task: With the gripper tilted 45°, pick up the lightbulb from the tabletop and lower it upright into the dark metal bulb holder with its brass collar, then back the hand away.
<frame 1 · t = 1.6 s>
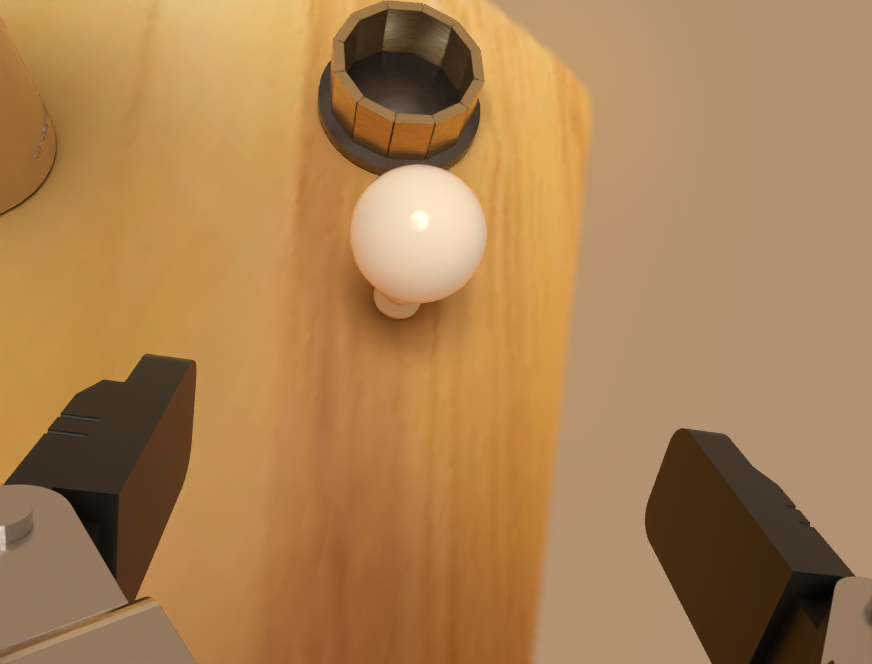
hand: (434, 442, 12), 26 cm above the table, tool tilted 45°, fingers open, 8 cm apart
bulb holder: (398, 110, 46), on the table
lightbulb: (395, 302, 41), on the table
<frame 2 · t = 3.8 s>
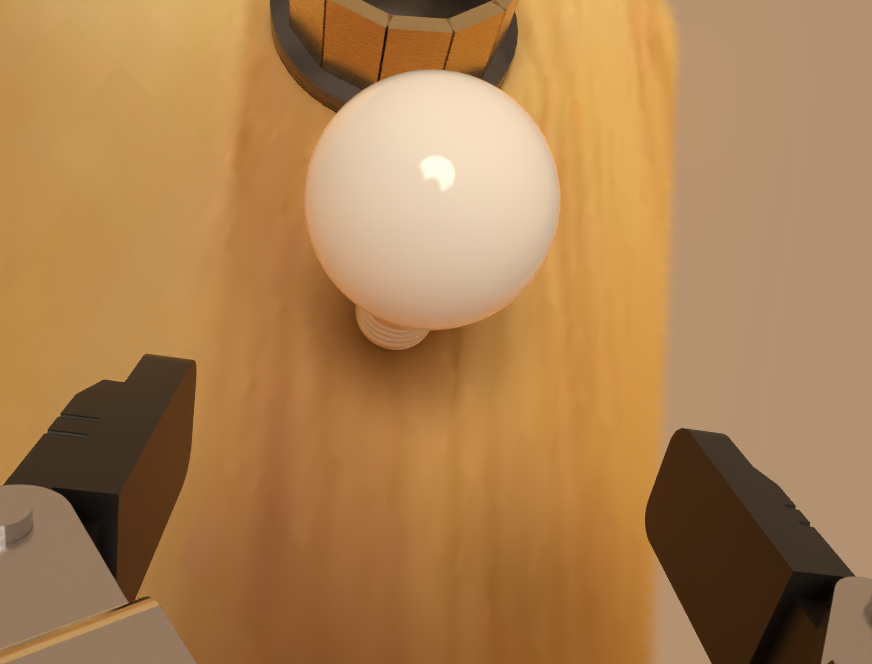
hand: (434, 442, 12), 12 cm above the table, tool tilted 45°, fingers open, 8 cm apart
bulb holder: (394, 29, 30), on the table
lightbulb: (391, 322, 26), on the table
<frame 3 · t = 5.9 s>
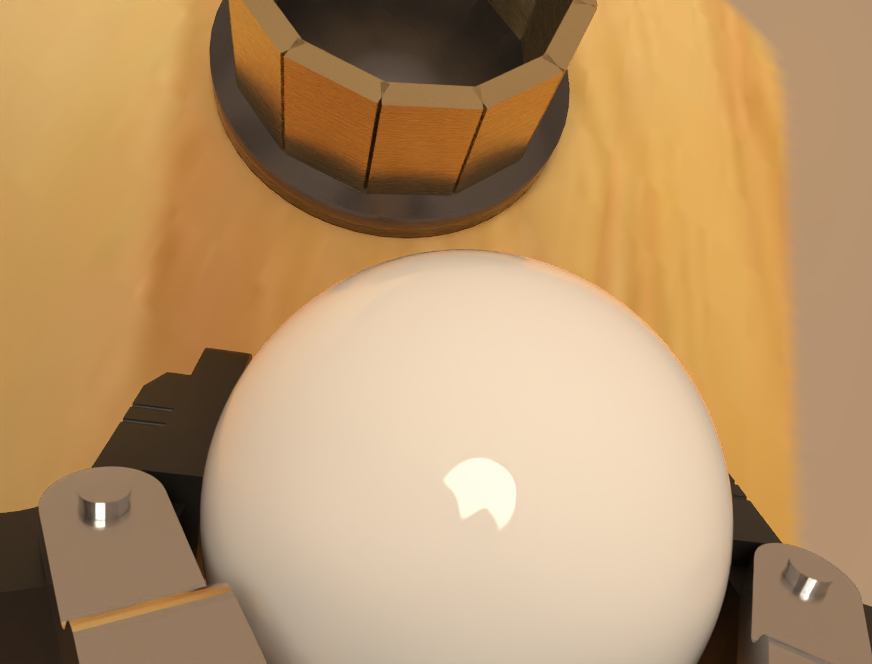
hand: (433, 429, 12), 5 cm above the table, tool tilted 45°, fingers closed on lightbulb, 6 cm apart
bulb holder: (392, 84, 21), on the table
lightbulb: (386, 553, 17), on the table, touching gripper
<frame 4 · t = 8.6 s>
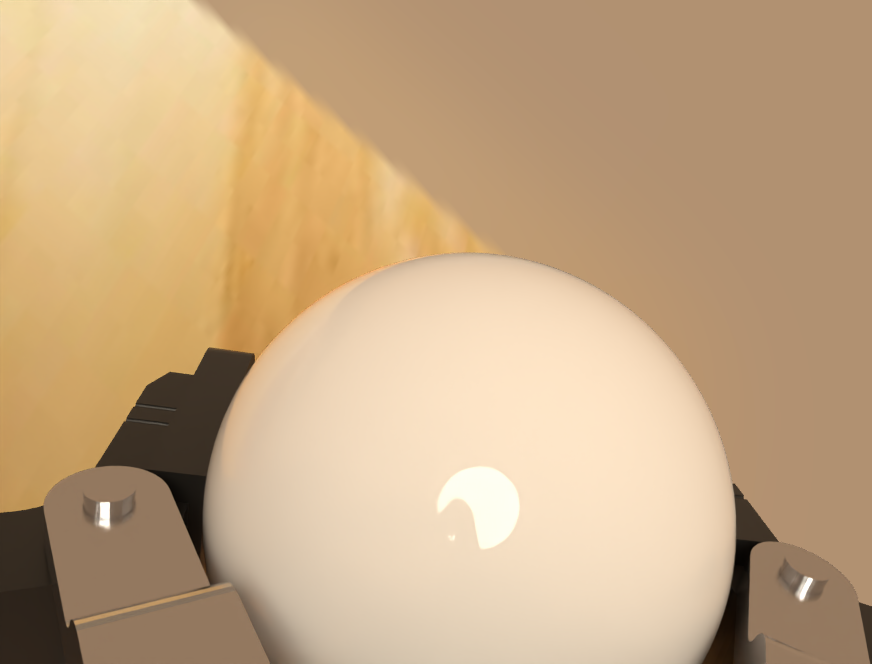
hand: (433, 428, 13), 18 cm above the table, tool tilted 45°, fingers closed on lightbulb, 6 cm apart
lightbulb: (386, 556, 17), point 13 cm above the table, touching gripper
when the fingers open (7 cm above the table, at t = 11.3 s): lightbulb drops 1 cm, resting on bulb holder.
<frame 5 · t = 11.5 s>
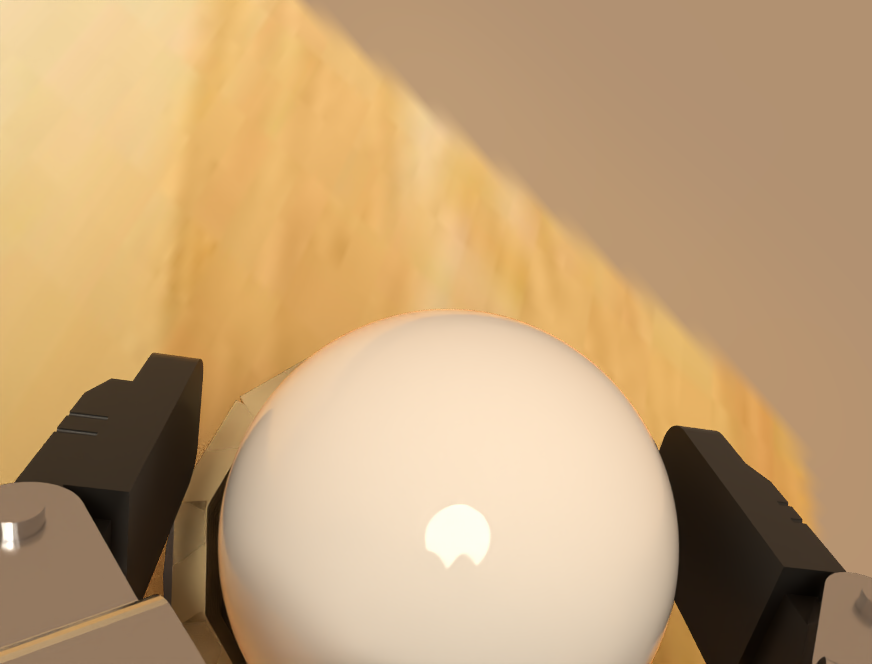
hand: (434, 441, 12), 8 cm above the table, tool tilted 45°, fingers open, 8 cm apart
bulb holder: (375, 561, 19), on the table
lightbulb: (387, 569, 18), point 1 cm above the table, touching bulb holder
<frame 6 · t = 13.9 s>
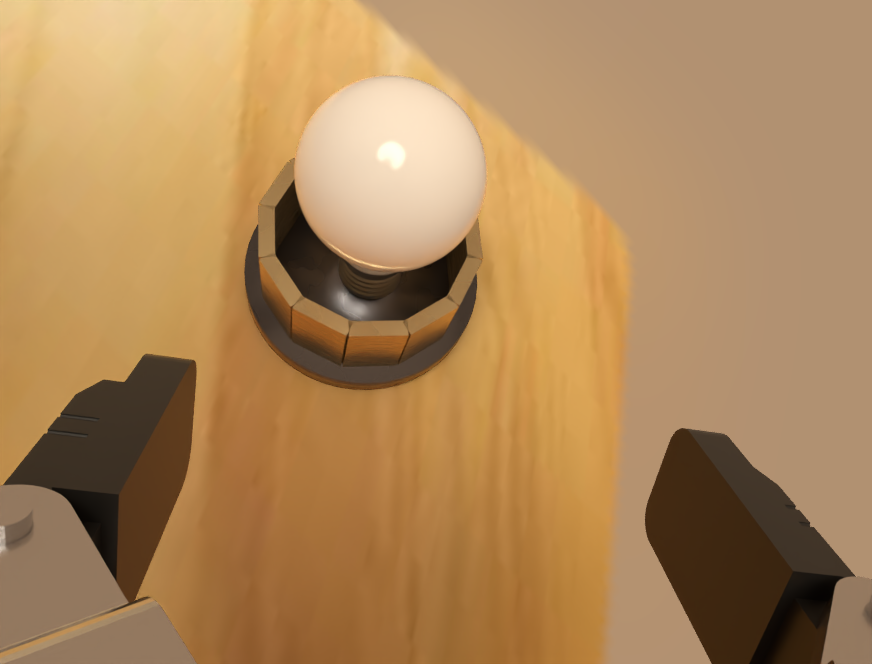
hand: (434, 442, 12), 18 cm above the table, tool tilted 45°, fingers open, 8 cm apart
bulb holder: (362, 281, 32), on the table
lightbulb: (368, 278, 32), point 1 cm above the table, touching bulb holder
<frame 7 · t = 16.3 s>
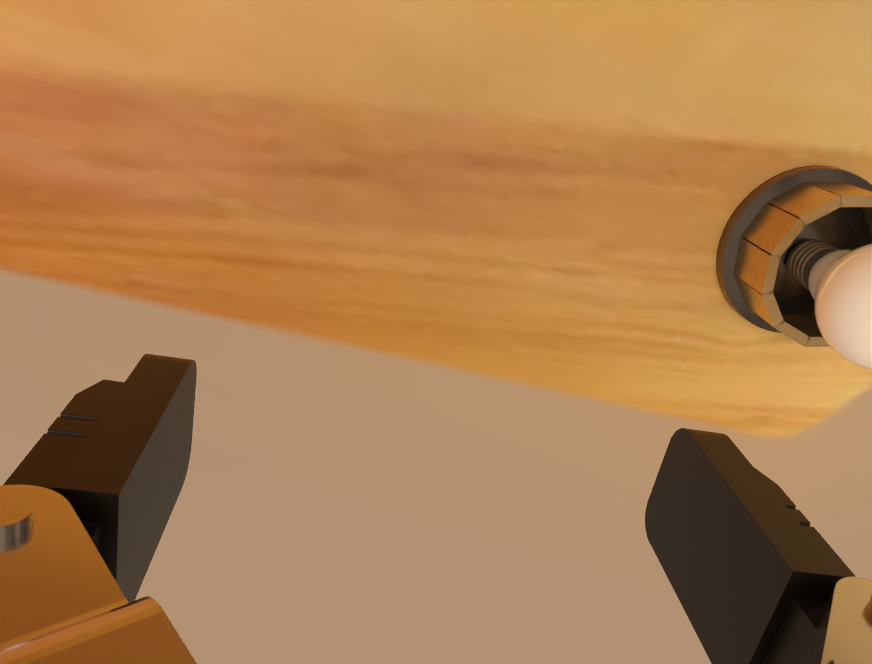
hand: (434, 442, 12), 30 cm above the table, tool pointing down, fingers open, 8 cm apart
bulb holder: (798, 249, 44), on the table
lightbulb: (801, 257, 43), point 1 cm above the table, touching bulb holder
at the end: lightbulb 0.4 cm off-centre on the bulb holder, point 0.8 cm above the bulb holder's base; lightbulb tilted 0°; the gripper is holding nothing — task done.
